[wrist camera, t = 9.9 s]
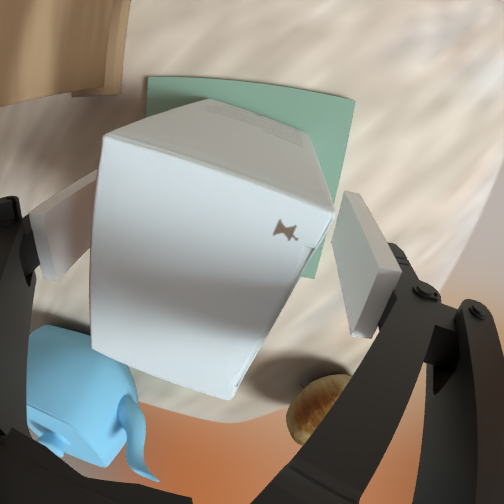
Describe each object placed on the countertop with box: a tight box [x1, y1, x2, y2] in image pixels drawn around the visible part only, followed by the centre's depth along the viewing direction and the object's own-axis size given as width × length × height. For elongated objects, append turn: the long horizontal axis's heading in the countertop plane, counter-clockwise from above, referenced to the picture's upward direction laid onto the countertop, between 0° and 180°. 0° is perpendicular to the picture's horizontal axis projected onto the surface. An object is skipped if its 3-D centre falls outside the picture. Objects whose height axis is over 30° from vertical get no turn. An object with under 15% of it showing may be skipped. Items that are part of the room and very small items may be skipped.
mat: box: [146, 77, 355, 279], centre depth 17 cm, size 11×11×1 cm
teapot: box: [26, 325, 158, 482], centre depth 24 cm, size 12×18×12 cm
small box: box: [89, 99, 336, 400], centre depth 13 cm, size 8×6×10 cm
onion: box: [286, 374, 352, 445], centre depth 23 cm, size 8×8×8 cm
